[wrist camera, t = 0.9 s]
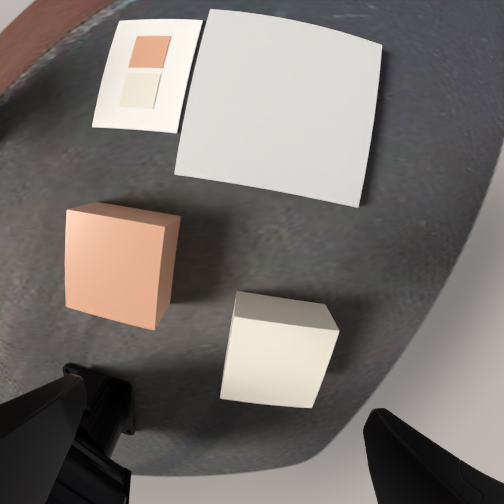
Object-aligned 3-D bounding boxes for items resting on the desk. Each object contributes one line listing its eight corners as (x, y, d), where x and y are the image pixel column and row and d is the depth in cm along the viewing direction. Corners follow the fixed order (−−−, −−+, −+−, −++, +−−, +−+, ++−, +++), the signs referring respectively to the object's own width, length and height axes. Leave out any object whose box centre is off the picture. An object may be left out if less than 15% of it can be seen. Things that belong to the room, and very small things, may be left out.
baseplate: (352, 206, 19) (358, 207, 18) (178, 174, 18) (174, 174, 17) (376, 50, 16) (382, 45, 15) (212, 15, 16) (210, 9, 15)
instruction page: (177, 133, 18) (176, 133, 17) (93, 127, 17) (91, 127, 17) (202, 21, 16) (202, 19, 16) (120, 21, 15) (119, 20, 15)
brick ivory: (303, 373, 22) (311, 408, 18) (224, 363, 22) (220, 398, 18) (324, 303, 21) (339, 330, 17) (236, 289, 20) (234, 316, 17)
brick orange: (170, 302, 21) (154, 330, 17) (93, 284, 20) (66, 306, 16) (181, 215, 19) (164, 226, 15) (97, 201, 19) (67, 209, 15)
